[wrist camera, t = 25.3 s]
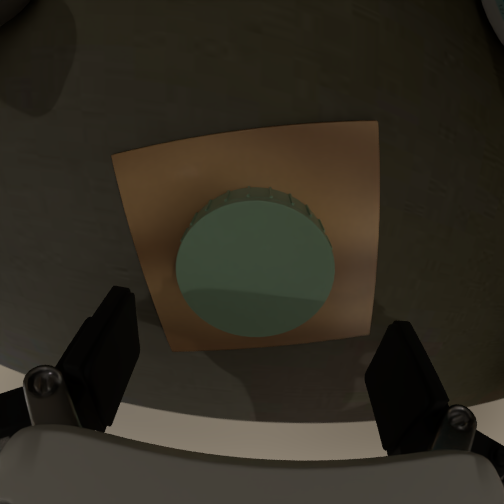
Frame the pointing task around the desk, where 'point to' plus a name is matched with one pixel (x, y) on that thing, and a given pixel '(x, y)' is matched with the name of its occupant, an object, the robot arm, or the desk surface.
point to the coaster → (261, 175)
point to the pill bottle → (495, 16)
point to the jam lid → (255, 263)
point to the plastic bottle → (10, 9)
